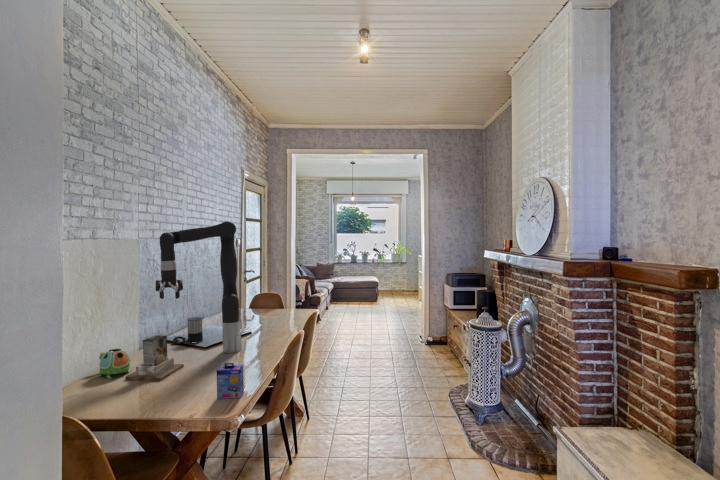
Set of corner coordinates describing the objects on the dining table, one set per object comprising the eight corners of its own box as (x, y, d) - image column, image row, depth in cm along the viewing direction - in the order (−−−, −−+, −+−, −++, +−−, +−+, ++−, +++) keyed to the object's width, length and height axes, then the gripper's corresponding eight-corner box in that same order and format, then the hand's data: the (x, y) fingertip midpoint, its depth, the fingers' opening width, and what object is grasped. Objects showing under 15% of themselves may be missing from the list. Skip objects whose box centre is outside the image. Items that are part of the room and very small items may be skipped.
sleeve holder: (183, 366, 191) (183, 356, 191) (161, 380, 173) (160, 369, 173) (150, 366, 193) (150, 355, 193) (125, 379, 175) (125, 368, 175)
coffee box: (156, 366, 188) (156, 334, 188) (168, 367, 187) (167, 335, 186) (143, 373, 179) (142, 340, 179) (154, 373, 178) (153, 340, 177)
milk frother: (206, 340, 238) (205, 317, 237) (183, 347, 225) (182, 323, 224) (193, 337, 246) (192, 315, 245) (170, 343, 232) (169, 320, 232)
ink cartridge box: (216, 399, 152) (215, 364, 152) (220, 393, 158) (219, 360, 157) (241, 398, 153) (240, 363, 153) (244, 392, 159) (243, 359, 158)
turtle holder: (115, 366, 193) (114, 343, 193) (136, 372, 185) (135, 348, 184) (88, 374, 182) (88, 350, 182) (109, 381, 174) (108, 355, 174)
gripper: (184, 268, 206) (185, 297, 206) (160, 268, 207) (161, 297, 207) (177, 269, 198) (178, 299, 199) (151, 270, 200) (153, 300, 200)
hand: (169, 298), depth 203 cm, fingers open, 8 cm apart
